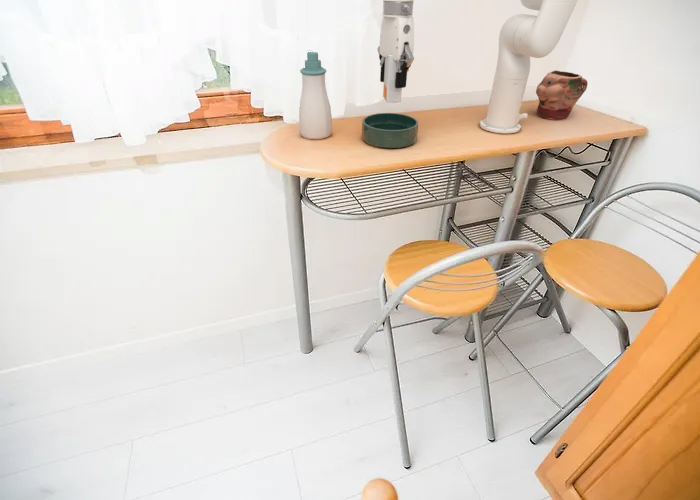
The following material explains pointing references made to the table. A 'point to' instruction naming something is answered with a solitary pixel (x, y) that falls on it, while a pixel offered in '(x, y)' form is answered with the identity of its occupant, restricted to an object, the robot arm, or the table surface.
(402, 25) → the robot arm
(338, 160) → the table surface
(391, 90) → the cosmetic box
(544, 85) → the decorative planter
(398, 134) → the bowl
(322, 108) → the soap bottle
